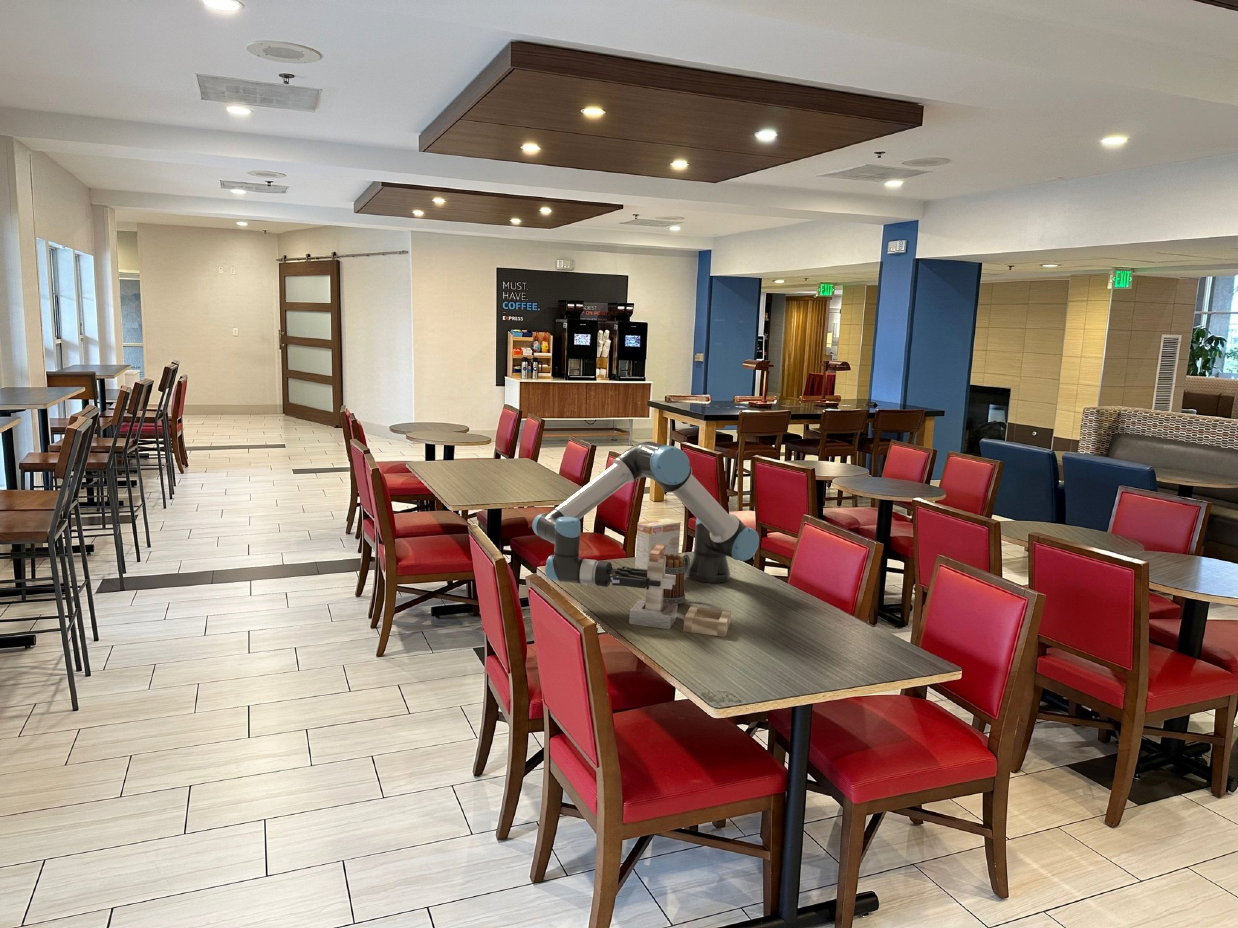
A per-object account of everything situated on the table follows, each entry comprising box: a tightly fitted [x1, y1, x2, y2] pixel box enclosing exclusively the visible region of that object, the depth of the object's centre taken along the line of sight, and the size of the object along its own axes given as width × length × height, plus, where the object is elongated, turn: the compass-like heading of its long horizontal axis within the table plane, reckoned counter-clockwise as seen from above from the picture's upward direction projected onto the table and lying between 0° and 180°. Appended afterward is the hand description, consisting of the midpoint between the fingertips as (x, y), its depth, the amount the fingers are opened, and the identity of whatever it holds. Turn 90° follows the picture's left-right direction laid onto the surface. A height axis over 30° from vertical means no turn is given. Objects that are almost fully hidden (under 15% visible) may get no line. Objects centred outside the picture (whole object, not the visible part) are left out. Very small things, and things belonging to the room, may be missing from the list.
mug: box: [663, 553, 691, 608], centre depth 266 cm, size 16×11×15 cm
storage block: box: [683, 605, 732, 638], centre depth 243 cm, size 12×12×4 cm
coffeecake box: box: [634, 518, 682, 570], centre depth 295 cm, size 15×7×20 cm, turn 130°
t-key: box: [645, 544, 666, 612], centre depth 245 cm, size 12×4×19 cm, turn 166°
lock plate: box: [628, 598, 679, 630], centre depth 246 cm, size 12×12×4 cm
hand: (673, 582), depth 244 cm, fingers closed on t-key, 4 cm apart
